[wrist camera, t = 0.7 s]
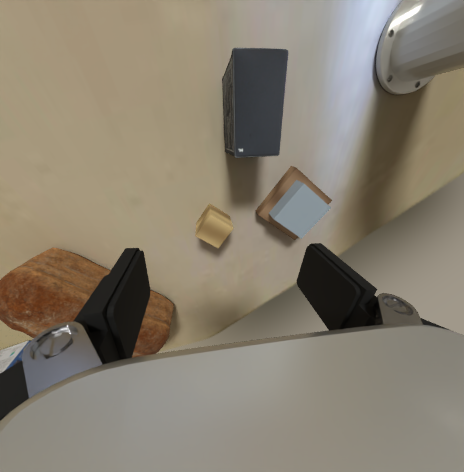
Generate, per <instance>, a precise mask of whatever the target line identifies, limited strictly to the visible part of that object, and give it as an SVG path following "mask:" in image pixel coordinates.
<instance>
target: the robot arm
mask: <svg viewBox="0 0 464 472" xmlns="http://www.w3.org/2000/svg"><path fill="white" fill-rule="evenodd" d="M461 68H464V0H402V1H401V2H400V3H399V5H398V6H397V7H396V9H395V10H394V11H393V13H392V15H391V16H390V18H389V20H388V21H387V24H386V26H385V28H384V30H383V32H382V35H381V39H380V42H379V45H378V50H377V57H376V70H377V76H378V79H379V82H380V84H381V85H382V87H383V88H384V89H385V90H386V91H387V92H389V93H391V94H396V95H401V94H407V93H411V92H414V91H416V90H418V89H420V88H421V87H423V86H424V85H426V84H427V83H428V82H429V81H430V80H432V79H433V78H434V76H435V75H438V74H442V73H446V72H450V71H453V70H457V69H461ZM297 285H298V287H299V288H300V290H301V291H302V292H303V294H304V295H305V297H306V298H307V300H308V301H309V302H310V304H311V305H312V307H313V308H314V310H315V311H316V312H317V314H318V315H319V317H320V318H321V319H322V321H323V322H324V324H325V325H326V327H327V328H328V329H329V331H323V332H314V333H307V334H299V335H290V336H282V337H274V338H267V339H259V340H251V341H244V342H236V343H229V344H222V345H214V346H207V347H199V348H192V349H185V350H178V351H171V352H165V353H158V354H151V355H144V356H139V357H134V358H132V355H133V352H134V349H135V345H136V342H137V338H138V335H139V332H140V328H141V325H142V322H143V318H144V315H145V312H146V308H147V305H148V302H149V298H150V286H149V280H148V274H147V268H146V263H145V257H144V252H143V251H140V250H139V248H126V249H125V250H124V252H123V253H122V255H121V256H120V258H119V259H118V261H117V262H116V264H115V265H114V267H113V268H112V270H111V271H110V273H109V274H108V275H106V276H104V277H103V278H102V280H101V281H100V283H99V284H98V286H97V287H96V289H95V290H94V292H93V293H92V294H91V296H90V297H89V299H88V300H87V302H86V303H85V305H84V306H83V308H82V309H81V311H80V312H79V313H78V315H77V316H76V318H75V319H74V321H73V322H64V323H60V324H57V325H55V326H52V327H50V328H48V329H47V330H45V331H43V332H41V333H40V334H39V335H38V336H36V337H35V338H34V339H33V340H32V341H31V342H30V343H29V344H28V345H27V346H26V348H25V350H24V352H23V355H22V361H20V362H19V363H17V364H15V365H13V366H12V367H10V368H8V369H7V370H5V371H3V372H2V373H0V472H464V335H462V334H459V333H457V332H454V331H451V330H449V329H446V328H444V327H441V326H439V325H436V324H434V323H431V322H429V321H426V320H424V319H422V318H420V316H419V314H418V312H417V311H416V309H415V308H414V307H413V306H412V305H411V304H410V303H408V302H407V301H405V300H403V299H402V298H400V297H397V296H395V295H392V294H387V293H382V294H379V295H378V297H376V296H375V295H374V294H375V292H376V290H377V289H376V288H375V287H374V286H372V285H371V284H370V283H369V282H368V281H366V280H365V279H364V278H363V277H362V276H360V275H359V274H358V273H357V272H355V271H354V270H353V269H352V268H351V267H349V266H348V265H347V264H346V263H344V262H343V261H342V260H341V259H339V258H338V257H337V256H336V255H335V254H333V253H332V252H331V251H330V250H328V249H327V248H326V247H325V246H324V245H322V244H321V243H315V244H310V245H309V246H308V247H307V248H306V252H305V255H304V258H303V262H302V265H301V268H300V272H299V275H298V278H297Z"/></svg>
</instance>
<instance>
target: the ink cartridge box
mask: <svg viewBox="0 0 464 472" xmlns="http://www.w3.org/2000/svg"><path fill="white" fill-rule="evenodd" d="M30 342H31V341H26V342H23V343H20V344H17V345H14V346H12V347H9V348H6V349H3V350H0V373H2V372H3V371H5V370H7V369H8V368H10V367H12V366H13V365H15V364H17V363H19V362H20V361H22V355H23V352H24V350H25V348H26V346H27V345H28V344H29V343H30Z"/></svg>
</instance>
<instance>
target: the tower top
mask: <svg viewBox="0 0 464 472" xmlns="http://www.w3.org/2000/svg"><path fill="white" fill-rule="evenodd" d="M330 208H331V207H330V206H329V205H328V204H327V203H325V202H324V201H323V200H322V199H321V198H320V197H319V196H318V195H316V194H315V193H314V192H313V191H312V190H311V189H310V188H309V187H307V186H306V185H305V184H304V183H302V182H300V181H298V180H296V181H295V182H294V183H293V185H292V186H291V187H290V188H289V189H288V191H287V192H286V193H285V194H284V195H283V197H282V198H281V199H280V200H279V201H278V203H277V204H276V205H275V206H274V207H273V209H272V210H271V211H270V212H269V214H270V215H271V217H272V218H273V219H274V220H276V221H277V222H278V223H280V224H281V225H283V226H284V227H286V228H287V229H288V230H290V231H291V232H293V233H294V234H295V235H297V236H298V237H300V238H301V239H302V238H303V236H304V235H305V234H306V233H307V232H308V231H309V230H310V229H311V228H312V227H313V226H314V225H315V224H316V223H317V222H318V221H319V220H320V219H321V218H322V217H323V216H324V215H325V214H326V213H327V211H328V210H329V209H330Z"/></svg>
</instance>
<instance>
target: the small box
mask: <svg viewBox="0 0 464 472" xmlns="http://www.w3.org/2000/svg"><path fill="white" fill-rule="evenodd" d="M287 61H288V50H286V49H266V48H234V49H233V50H232V55H231V58H230V61H229V64H228V66H227V69H226V71H225V74H224V76H223V78H222V81H223V109H224V137H225V152H226V153H229V154H231V155H233V156H235V157H236V158H241V157H263V156H278V155H279V151H280V139H281V128H282V116H283V104H284V93H285V82H286V72H287Z"/></svg>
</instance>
